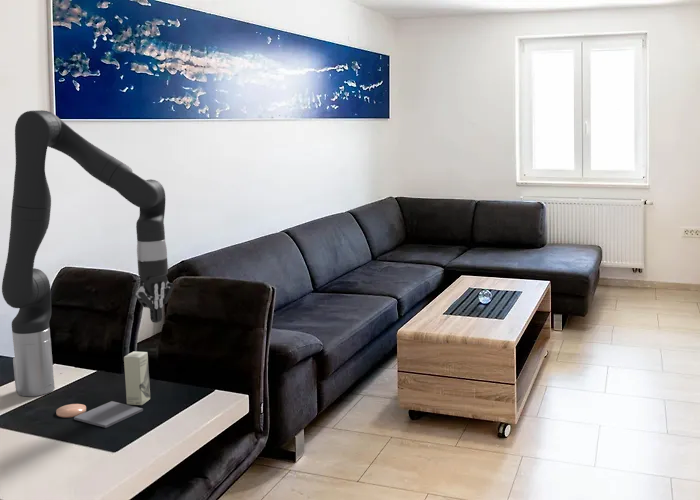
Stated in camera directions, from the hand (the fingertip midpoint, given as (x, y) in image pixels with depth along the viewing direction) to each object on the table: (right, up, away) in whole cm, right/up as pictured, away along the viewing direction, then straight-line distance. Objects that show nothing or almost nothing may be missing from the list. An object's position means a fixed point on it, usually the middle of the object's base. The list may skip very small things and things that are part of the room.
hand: (156, 321), depth 197 cm
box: (-4, -21, -3) cm, 21 cm away
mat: (-9, -22, -12) cm, 26 cm away
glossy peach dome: (-19, -22, -10) cm, 30 cm away
